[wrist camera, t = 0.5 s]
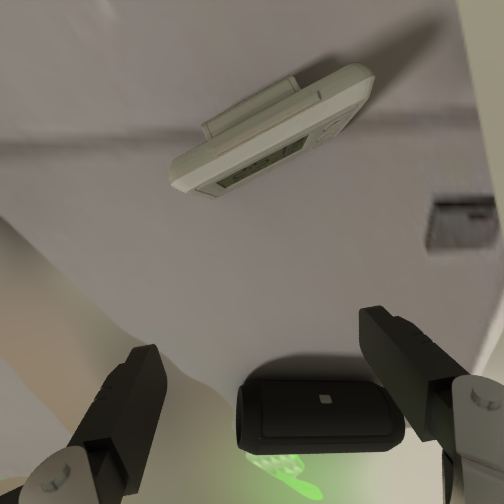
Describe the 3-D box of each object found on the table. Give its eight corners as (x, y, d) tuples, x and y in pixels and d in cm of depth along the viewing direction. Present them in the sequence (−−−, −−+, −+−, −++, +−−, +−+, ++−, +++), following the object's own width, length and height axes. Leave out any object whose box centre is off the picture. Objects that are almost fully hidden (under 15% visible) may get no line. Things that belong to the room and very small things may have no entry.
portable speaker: (382, 369, 46) (419, 428, 37) (364, 404, 51) (393, 464, 42) (241, 366, 43) (245, 430, 34) (234, 404, 47) (236, 470, 38)
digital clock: (200, 200, 30) (188, 236, 20) (169, 113, 26) (136, 108, 16) (337, 161, 29) (391, 180, 20) (329, 67, 25) (391, 34, 16)
